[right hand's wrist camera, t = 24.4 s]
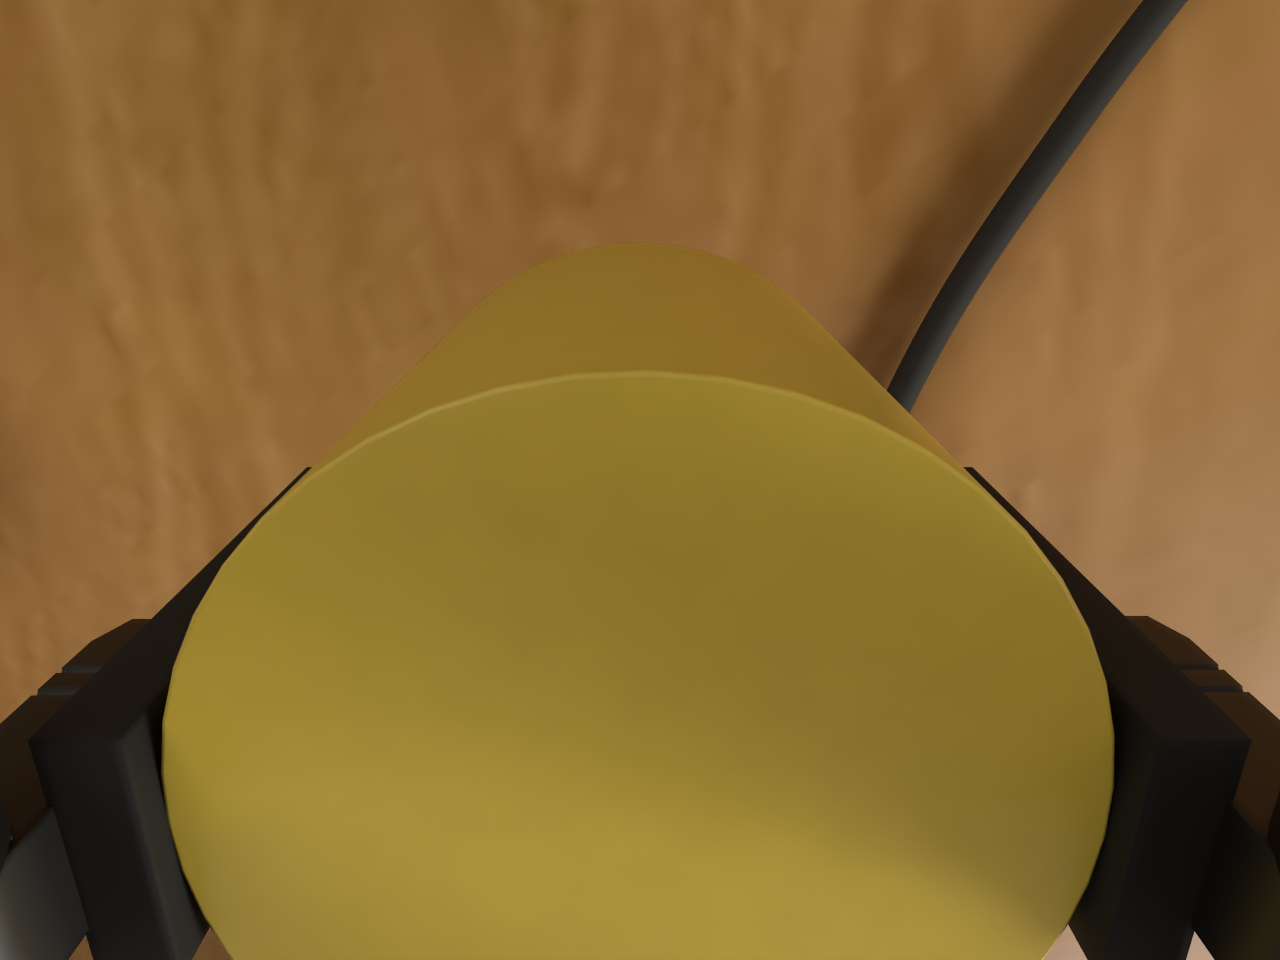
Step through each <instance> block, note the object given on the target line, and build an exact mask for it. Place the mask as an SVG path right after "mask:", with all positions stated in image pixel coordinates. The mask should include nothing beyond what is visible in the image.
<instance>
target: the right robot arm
mask: <svg viewBox="0 0 1280 960" xmlns="http://www.w3.org/2000/svg"><path fill="white" fill-rule="evenodd" d="M1187 1H1188V0H1143V1H1142V3H1141V4H1140V5H1139V6H1138V8H1137V9H1136V10H1135V12H1134V13H1133V14H1132V16H1131V17H1130V18H1129V19H1128V21H1127V22H1126V23H1125V25H1124V26H1123V27H1122V29H1121V30H1120V31H1119V32H1118V34H1117V35H1116V36H1115V38H1114V39H1113V40H1112V42H1111V43H1110V44H1109V46H1108V47H1107V48H1106V50H1105V51H1104V52H1103V54H1102V55H1101V56H1100V58H1099V59H1098V60H1097V62H1096V63H1095V65H1094V66H1093V67H1092V69H1091V70H1090V71H1089V73H1088V74H1087V76H1086V77H1085V78H1084V80H1083V81H1082V82H1081V84H1080V85H1079V87H1078V88H1077V90H1076V91H1075V92H1074V94H1073V95H1072V97H1071V98H1070V99H1069V101H1068V102H1067V104H1066V105H1065V107H1064V108H1063V109H1062V111H1061V112H1060V114H1059V115H1058V117H1057V118H1056V119H1055V121H1054V122H1053V124H1052V125H1051V127H1050V128H1049V129H1048V131H1047V132H1046V134H1045V135H1044V137H1043V138H1042V139H1041V141H1040V142H1039V144H1038V145H1037V147H1036V148H1035V149H1034V151H1033V152H1032V154H1031V155H1030V157H1029V158H1028V159H1027V161H1026V162H1025V164H1024V165H1023V167H1022V168H1021V169H1020V171H1019V172H1018V174H1017V175H1016V177H1015V178H1014V179H1013V181H1012V182H1011V184H1010V185H1009V187H1008V188H1007V189H1006V191H1005V192H1004V194H1003V195H1002V197H1001V198H1000V200H999V201H998V202H997V204H996V205H995V207H994V208H993V210H992V211H991V213H990V214H989V216H988V217H987V219H986V220H985V222H984V223H983V224H982V226H981V227H980V229H979V230H978V232H977V233H976V235H975V236H974V238H973V239H972V241H971V243H970V244H969V246H968V247H967V249H966V250H965V252H964V253H963V255H962V256H961V258H960V260H959V261H958V263H957V264H956V266H955V268H954V269H953V271H952V272H951V274H950V275H949V277H948V279H947V280H946V282H945V284H944V285H943V287H942V289H941V290H940V292H939V294H938V295H937V297H936V299H935V301H934V302H933V304H932V306H931V308H930V309H929V311H928V313H927V314H926V316H925V318H924V320H923V322H922V324H921V325H920V327H919V329H918V331H917V333H916V334H915V336H914V338H913V340H912V342H911V344H910V346H909V348H908V349H907V351H906V353H905V355H904V357H903V359H902V361H901V363H900V365H899V367H898V369H897V371H896V373H895V375H894V377H893V379H892V381H891V383H890V385H889V387H888V389H887V392H888V393H889V394H890V395H891V396H892V397H893V398H894V399H895V400H896V401H897V402H898V403H899V404H900V405H901V406H902V407H903V408H904V409H905V410H906V411H907V412H908V413H910V411H911V409H912V407H913V405H914V403H915V401H916V399H917V397H918V395H919V393H920V391H921V389H922V387H923V385H924V383H925V381H926V379H927V377H928V375H929V373H930V372H931V370H932V368H933V366H934V364H935V362H936V360H937V359H938V357H939V355H940V353H941V351H942V349H943V348H944V346H945V344H946V342H947V341H948V339H949V337H950V335H951V333H952V332H953V330H954V328H955V326H956V325H957V323H958V321H959V320H960V318H961V316H962V315H963V313H964V311H965V310H966V308H967V306H968V305H969V303H970V301H971V300H972V298H973V297H974V295H975V293H976V292H977V290H978V289H979V287H980V285H981V284H982V282H983V281H984V279H985V278H986V276H987V275H988V273H989V272H990V270H991V268H992V267H993V265H994V264H995V262H996V261H997V259H998V258H999V257H1000V255H1001V254H1002V252H1003V251H1004V249H1005V248H1006V246H1007V245H1008V243H1009V242H1010V240H1011V239H1012V237H1013V236H1014V235H1015V233H1016V232H1017V230H1018V229H1019V227H1020V226H1021V225H1022V223H1023V222H1024V220H1025V219H1026V217H1027V216H1028V215H1029V213H1030V212H1031V210H1032V209H1033V208H1034V206H1035V205H1036V203H1037V202H1038V201H1039V199H1040V198H1041V196H1042V195H1043V194H1044V192H1045V191H1046V189H1047V188H1048V187H1049V185H1050V184H1051V182H1052V181H1053V180H1054V178H1055V177H1056V175H1057V174H1058V173H1059V171H1060V170H1061V168H1062V167H1063V166H1064V164H1065V163H1066V161H1067V160H1068V159H1069V157H1070V156H1071V154H1072V153H1073V152H1074V150H1075V149H1076V147H1077V146H1078V145H1079V143H1080V142H1081V140H1082V139H1083V138H1084V136H1085V135H1086V133H1087V132H1088V131H1089V129H1090V128H1091V126H1092V125H1093V124H1094V122H1095V121H1096V119H1097V118H1098V117H1099V115H1100V114H1101V113H1102V111H1103V110H1104V108H1105V107H1106V106H1107V104H1108V103H1109V101H1110V100H1111V99H1112V97H1113V96H1114V95H1115V93H1116V92H1117V91H1118V89H1119V88H1120V87H1121V85H1122V84H1123V83H1124V81H1125V80H1126V79H1127V77H1128V76H1129V75H1130V73H1131V72H1132V71H1133V69H1134V68H1135V67H1136V65H1137V64H1138V63H1139V62H1140V60H1141V59H1142V58H1143V56H1144V55H1145V54H1146V52H1147V51H1148V50H1149V49H1150V47H1151V46H1152V45H1153V43H1154V42H1155V41H1156V40H1157V38H1158V37H1159V36H1160V35H1161V33H1162V32H1163V31H1164V29H1165V28H1166V27H1167V26H1168V24H1169V23H1170V22H1171V21H1172V19H1173V18H1174V17H1175V16H1176V14H1177V13H1178V12H1179V11H1180V9H1181V8H1182V7H1183V6H1184V4H1185V3H1186V2H1187ZM311 468H312V467H307V468H306V469H305V470H304V471H303V472H302V473H301V474H300V475H299V476H298V477H297V478H296V479H295V480H293V481H292V482H291V483H290V484H289V485H288V486H287V487H286V488H285V489H284V490H283V491H282V492H281V493H280V494H279V495H278V496H277V497H276V498H275V499H274V500H273V501H272V502H271V503H270V504H269V505H268V506H267V507H266V508H265V509H264V510H263V511H262V512H261V513H260V514H259V515H258V516H257V517H256V518H255V519H254V520H252V521H251V522H250V523H249V524H248V525H247V526H246V527H245V528H244V529H243V530H242V531H241V532H240V533H239V534H238V535H237V536H236V537H235V538H234V539H233V540H232V541H231V542H230V543H229V544H228V545H227V546H226V547H225V548H224V549H223V550H222V551H221V552H220V553H219V554H218V555H217V556H216V557H215V558H214V559H212V560H211V561H210V562H209V563H208V564H207V565H206V566H205V567H204V568H203V569H202V570H201V571H200V572H199V573H198V574H197V575H196V576H195V577H194V578H193V579H192V580H191V581H190V582H189V583H188V584H187V585H186V586H185V587H184V588H183V589H182V590H181V591H180V592H179V593H178V594H177V595H176V596H175V597H174V598H172V599H171V600H170V601H169V602H168V603H167V604H166V605H165V606H164V607H163V608H162V609H161V610H160V611H159V612H158V613H157V614H156V615H155V616H154V617H153V618H152V619H132V620H130V621H128V622H126V623H124V624H123V625H121V626H119V627H117V628H115V629H113V630H111V631H110V632H108V633H106V634H104V635H102V636H100V637H98V638H97V639H95V640H93V641H91V642H90V643H89V644H88V645H87V646H86V647H84V648H83V649H82V650H81V651H80V652H79V653H78V654H77V655H76V656H75V657H73V658H72V659H71V660H70V661H69V662H68V663H67V664H66V665H65V666H64V667H62V673H56V674H55V675H54V676H53V677H51V678H50V679H49V680H48V681H47V682H46V683H45V684H44V685H43V686H41V687H40V688H39V689H38V694H37V696H30V697H29V698H28V699H27V700H26V701H25V702H24V703H23V704H22V705H21V706H19V707H18V708H17V709H16V710H15V711H14V712H13V713H12V714H11V715H10V716H8V717H7V718H6V719H5V720H4V721H3V722H2V723H1V724H0V960H68V959H69V958H70V956H71V955H72V953H73V952H74V951H75V949H76V948H77V946H78V945H79V943H80V942H81V941H82V939H83V938H84V936H85V935H86V937H87V940H88V943H89V946H90V950H91V953H92V956H93V960H192V958H193V957H194V955H195V953H196V951H197V949H198V947H199V946H200V944H201V942H202V940H203V938H204V936H205V935H206V933H207V931H208V929H209V927H210V925H209V924H208V922H207V921H206V919H205V918H204V916H203V914H202V912H201V910H200V908H199V906H198V904H197V901H196V899H195V897H194V895H193V893H192V891H191V889H190V887H189V884H188V882H187V880H186V878H185V876H184V874H183V872H182V869H181V865H180V862H179V859H178V855H177V852H176V849H175V845H174V842H173V839H172V835H171V831H170V828H169V824H168V819H167V813H166V806H165V799H164V791H163V784H162V776H161V760H162V726H163V716H164V711H165V706H166V701H167V696H168V691H169V686H170V681H171V676H172V671H173V666H174V664H175V661H176V659H177V656H178V653H179V651H180V648H181V645H182V643H183V640H184V638H185V635H186V632H187V630H188V627H189V624H190V622H191V619H192V617H193V614H194V613H195V611H196V609H197V607H198V606H199V604H200V602H201V601H202V599H203V597H204V595H205V594H206V592H207V590H208V589H209V587H210V585H211V583H212V582H213V580H214V578H215V577H216V575H217V573H218V571H219V570H220V568H221V566H222V565H223V563H224V562H225V561H226V560H227V559H228V557H229V556H230V555H231V554H232V553H233V551H234V550H235V549H236V548H237V546H238V545H239V544H240V543H241V542H242V540H243V539H244V538H245V537H246V536H247V534H248V533H249V532H250V531H251V529H252V528H253V527H254V526H255V525H256V523H257V522H258V521H259V520H260V519H261V517H262V516H263V515H264V514H265V513H266V512H267V511H268V510H269V509H270V508H271V507H272V506H274V505H275V504H276V503H277V502H278V501H279V500H280V499H281V498H282V497H283V496H284V495H285V494H286V493H287V492H288V491H289V490H290V489H291V488H292V487H293V486H294V485H295V484H296V483H297V482H298V481H299V480H300V479H301V478H302V477H303V476H304V475H305V474H306V473H307V472H308V471H309V470H310V469H311ZM963 468H964V469H965V470H966V471H967V472H968V473H969V474H970V475H971V476H972V477H973V478H974V479H975V480H976V481H977V482H978V483H979V484H980V485H981V486H982V487H983V488H984V489H985V490H986V491H987V492H988V493H989V494H990V495H991V496H992V497H993V498H994V499H995V500H996V501H997V502H998V503H999V504H1000V505H1001V506H1002V507H1003V508H1004V509H1005V510H1006V511H1007V512H1008V513H1009V514H1010V515H1011V516H1012V517H1013V518H1014V519H1015V520H1016V521H1017V522H1018V523H1019V524H1020V525H1021V526H1022V527H1023V528H1024V529H1025V530H1026V531H1027V532H1028V534H1029V535H1030V536H1031V538H1032V539H1033V540H1034V542H1035V543H1036V544H1037V546H1038V547H1039V548H1040V550H1041V551H1042V552H1043V553H1044V555H1045V556H1046V557H1047V559H1048V560H1049V561H1050V563H1051V564H1052V565H1053V567H1054V568H1055V569H1056V571H1057V572H1058V573H1059V575H1060V576H1061V577H1062V579H1063V581H1064V583H1065V584H1066V586H1067V588H1068V590H1069V592H1070V594H1071V596H1072V598H1073V600H1074V602H1075V604H1076V605H1077V607H1078V609H1079V611H1080V613H1081V615H1082V617H1083V619H1084V621H1085V623H1086V624H1087V626H1088V628H1089V631H1090V634H1091V637H1092V640H1093V643H1094V646H1095V649H1096V652H1097V655H1098V658H1099V661H1100V664H1101V667H1102V670H1103V673H1104V676H1105V679H1106V683H1107V690H1108V696H1109V703H1110V709H1111V716H1112V723H1113V729H1114V736H1115V737H1114V789H1113V794H1112V800H1111V805H1110V811H1109V817H1108V822H1107V828H1106V833H1105V838H1104V841H1103V844H1102V847H1101V849H1100V852H1099V855H1098V858H1097V861H1096V864H1095V867H1094V870H1093V873H1092V876H1091V878H1090V881H1089V884H1088V886H1087V888H1086V890H1085V892H1084V894H1083V896H1082V898H1081V899H1080V901H1079V903H1078V905H1077V907H1076V909H1075V911H1074V913H1073V915H1072V917H1071V919H1070V921H1069V923H1068V925H1069V927H1070V928H1071V930H1072V932H1073V934H1074V936H1075V938H1076V939H1077V941H1078V943H1079V945H1080V947H1081V949H1082V950H1083V952H1084V954H1085V956H1086V958H1087V959H1088V960H1186V957H1187V954H1188V951H1189V947H1190V944H1191V941H1192V937H1193V934H1194V931H1195V932H1196V934H1197V935H1198V937H1199V938H1200V939H1201V941H1202V942H1203V944H1204V945H1205V947H1206V948H1207V949H1208V951H1209V952H1210V954H1211V955H1212V957H1213V958H1214V959H1215V960H1280V720H1279V719H1278V718H1277V717H1276V716H1275V715H1274V714H1272V713H1271V712H1270V711H1269V710H1268V709H1267V708H1266V707H1265V706H1264V705H1262V704H1261V703H1260V702H1259V701H1258V700H1257V699H1256V698H1255V697H1254V696H1252V695H1251V694H1250V693H1249V692H1243V690H1242V686H1241V685H1240V684H1239V683H1238V682H1237V681H1236V680H1235V679H1234V678H1232V677H1231V676H1230V675H1229V674H1228V673H1227V672H1226V671H1225V670H1219V669H1218V664H1217V663H1216V662H1215V661H1214V660H1213V659H1211V658H1210V657H1209V656H1208V655H1207V654H1206V653H1205V652H1204V651H1203V650H1201V649H1200V648H1199V647H1198V646H1197V645H1196V644H1195V643H1194V642H1193V641H1191V640H1190V639H1189V638H1187V637H1186V636H1184V635H1182V634H1180V633H1178V632H1176V631H1174V630H1173V629H1171V628H1169V627H1167V626H1165V625H1163V624H1161V623H1159V622H1158V621H1156V620H1154V619H1152V618H1150V617H1148V616H1124V615H1123V614H1122V613H1121V612H1120V611H1119V610H1118V609H1117V608H1116V607H1115V606H1114V605H1113V604H1112V603H1111V602H1110V601H1109V600H1108V599H1107V598H1106V597H1105V596H1104V595H1103V594H1102V593H1101V592H1100V591H1099V590H1098V589H1097V588H1096V587H1095V586H1094V585H1093V584H1091V583H1090V582H1089V581H1088V580H1087V579H1086V578H1085V577H1084V576H1083V575H1082V574H1081V573H1080V572H1079V571H1078V570H1077V569H1076V568H1075V567H1074V566H1073V565H1072V564H1071V563H1070V562H1069V561H1068V560H1067V559H1066V558H1065V557H1064V556H1063V555H1062V554H1061V553H1060V552H1059V551H1058V550H1057V549H1056V548H1055V547H1054V546H1053V545H1052V544H1050V543H1049V542H1048V541H1047V540H1046V539H1045V538H1044V537H1043V536H1042V535H1041V534H1040V533H1039V532H1038V531H1037V530H1036V529H1035V528H1034V527H1033V526H1032V525H1031V524H1030V523H1029V522H1028V521H1027V520H1026V519H1025V518H1024V517H1023V516H1022V515H1021V514H1020V513H1019V512H1018V511H1017V510H1016V509H1015V508H1014V507H1013V506H1012V505H1011V504H1009V503H1008V502H1007V501H1006V500H1005V499H1004V498H1003V497H1002V496H1001V495H1000V494H999V493H998V492H997V491H996V490H995V489H994V488H993V487H992V486H991V485H990V484H989V483H988V482H987V481H986V480H985V479H984V478H983V477H982V476H981V475H980V474H979V473H978V472H977V471H976V470H975V469H974V468H973V467H963Z"/></svg>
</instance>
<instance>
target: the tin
mask: <svg viewBox="0 0 1280 960" xmlns="http://www.w3.org/2000/svg"><path fill="white" fill-rule="evenodd" d="M1114 737H1115V736H1114V729H1113V723H1112V716H1111V709H1110V703H1109V696H1108V690H1107V683H1106V679H1105V676H1104V673H1103V670H1102V667H1101V664H1100V661H1099V658H1098V655H1097V652H1096V649H1095V646H1094V643H1093V640H1092V637H1091V634H1090V631H1089V628H1088V626H1087V624H1086V623H1085V621H1084V619H1083V617H1082V615H1081V613H1080V611H1079V609H1078V607H1077V605H1076V604H1075V602H1074V600H1073V598H1072V596H1071V594H1070V592H1069V590H1068V588H1067V586H1066V584H1065V583H1064V581H1063V579H1062V577H1061V576H1060V575H1059V573H1058V572H1057V571H1056V569H1055V568H1054V567H1053V565H1052V564H1051V563H1050V561H1049V560H1048V559H1047V557H1046V556H1045V555H1044V553H1043V552H1042V551H1041V550H1040V548H1039V547H1038V546H1037V544H1036V543H1035V542H1034V540H1033V539H1032V538H1031V536H1030V535H1029V534H1028V532H1027V531H1026V530H1025V529H1024V528H1023V527H1022V526H1021V525H1020V524H1019V523H1018V522H1017V521H1016V520H1015V519H1014V518H1013V517H1012V516H1011V515H1010V514H1009V513H1008V512H1007V511H1006V510H1005V509H1004V508H1003V507H1002V506H1001V505H1000V504H999V503H998V502H997V501H996V500H995V499H994V498H993V497H992V496H991V495H990V494H989V493H988V492H987V491H986V490H985V489H984V488H983V487H982V486H981V485H980V484H979V483H978V482H977V481H976V480H975V479H974V478H973V477H972V476H971V475H970V474H969V473H968V472H967V471H966V470H965V469H964V468H963V467H962V466H961V465H960V464H959V463H958V462H957V461H956V460H955V459H954V458H953V457H952V456H951V455H950V454H949V453H948V452H947V451H946V450H945V449H944V448H943V447H942V446H941V445H940V444H939V443H938V442H937V441H936V440H935V439H934V438H933V437H932V436H931V435H930V434H929V433H928V432H927V431H926V430H925V429H924V428H923V427H922V426H921V425H920V424H919V423H918V422H917V421H916V420H915V419H914V418H913V417H912V416H911V415H910V414H909V413H908V412H907V411H906V410H905V409H904V408H903V407H902V406H901V405H900V404H899V403H898V402H897V401H896V400H895V399H894V398H893V397H892V396H891V395H890V394H889V393H888V392H887V391H886V390H885V389H884V388H883V387H882V386H881V385H880V384H879V383H878V382H877V381H876V380H875V379H874V378H873V377H872V376H871V375H870V374H869V373H868V372H867V371H866V370H865V369H864V368H863V367H862V366H861V365H860V364H859V363H858V362H857V361H856V360H855V359H854V358H853V357H852V356H851V355H850V354H849V353H848V352H847V351H846V350H845V349H844V348H843V347H842V346H841V345H840V344H839V343H838V342H837V341H836V340H835V339H834V338H833V337H832V336H831V335H830V334H829V333H828V332H827V331H826V330H825V329H824V328H823V327H822V326H821V325H820V324H819V323H818V322H817V321H816V320H815V319H814V318H813V317H812V316H811V315H810V314H809V313H808V312H807V311H806V310H805V309H804V308H803V307H802V306H801V305H800V304H799V303H798V302H797V301H796V300H795V299H794V298H792V297H791V296H790V295H788V294H787V293H786V292H784V291H783V290H781V289H780V288H779V287H777V286H776V285H775V284H773V283H772V282H771V281H769V280H768V279H766V278H764V277H762V276H760V275H759V274H757V273H755V272H753V271H751V270H749V269H747V268H746V267H744V266H742V265H740V264H738V263H735V262H732V261H730V260H727V259H724V258H721V257H719V256H716V255H713V254H711V253H708V252H703V251H699V250H694V249H690V248H686V247H681V246H677V245H665V244H654V243H625V244H609V245H603V246H598V247H593V248H587V249H582V250H577V251H574V252H571V253H568V254H565V255H562V256H559V257H556V258H553V259H550V260H547V261H545V262H543V263H541V264H539V265H537V266H535V267H533V268H530V269H528V270H526V271H524V272H522V273H520V274H518V275H517V276H515V277H514V278H512V279H511V280H509V281H508V282H506V283H505V284H503V285H502V286H500V287H499V288H497V289H496V290H494V291H493V292H491V293H490V294H489V295H488V296H487V297H486V298H485V299H484V300H482V301H481V302H480V303H479V304H478V305H477V306H476V307H475V308H474V309H472V310H471V311H470V312H469V313H468V314H467V315H466V316H465V317H464V318H463V319H462V320H461V321H460V322H459V323H458V324H457V325H456V326H455V327H454V328H453V329H452V330H451V331H450V332H449V333H448V334H447V335H446V336H445V337H444V338H443V339H442V340H441V341H440V342H439V343H438V344H437V345H436V346H435V347H434V348H433V349H431V350H430V351H429V352H428V353H427V354H426V355H425V356H424V357H423V358H422V359H421V360H420V361H419V362H418V363H417V364H416V365H415V366H414V367H413V368H412V369H411V370H410V371H409V372H408V373H407V374H406V375H405V376H404V377H403V378H402V379H401V380H400V381H399V382H398V383H397V384H396V385H395V386H394V387H393V388H392V389H391V390H390V391H389V392H388V393H387V394H386V395H385V396H384V397H383V398H382V399H381V400H380V401H379V402H378V403H377V404H376V405H375V406H374V407H373V408H372V409H371V410H370V411H369V412H368V413H367V414H366V415H365V416H364V417H363V418H362V419H361V420H360V421H359V422H358V423H357V424H356V425H355V426H354V427H353V428H351V429H350V430H349V431H348V432H347V433H346V434H345V435H344V436H343V437H342V438H341V439H340V440H339V441H338V442H337V443H336V444H335V445H334V446H333V447H332V448H331V449H330V450H329V451H328V452H327V453H326V454H325V455H324V456H323V457H322V458H321V459H320V460H319V461H318V462H317V463H316V464H315V465H314V466H313V467H312V468H311V469H310V470H309V471H308V472H307V473H306V474H305V475H304V476H303V477H302V478H301V479H300V480H299V481H298V482H297V483H296V484H295V485H294V486H293V487H292V488H291V489H290V490H289V491H288V492H287V493H286V494H285V495H284V496H283V497H282V498H281V499H280V500H279V501H278V502H277V503H276V504H275V505H274V506H272V507H271V508H270V509H269V510H268V511H267V512H266V513H265V514H264V515H263V516H262V517H261V519H260V520H259V521H258V522H257V523H256V525H255V526H254V527H253V528H252V529H251V531H250V532H249V533H248V534H247V536H246V537H245V538H244V539H243V540H242V542H241V543H240V544H239V545H238V546H237V548H236V549H235V550H234V551H233V553H232V554H231V555H230V556H229V557H228V559H227V560H226V561H225V562H224V563H223V565H222V566H221V568H220V570H219V571H218V573H217V575H216V577H215V578H214V580H213V582H212V583H211V585H210V587H209V589H208V590H207V592H206V594H205V595H204V597H203V599H202V601H201V602H200V604H199V606H198V607H197V609H196V611H195V613H194V614H193V617H192V619H191V622H190V624H189V627H188V630H187V632H186V635H185V638H184V640H183V643H182V645H181V648H180V651H179V653H178V656H177V659H176V661H175V664H174V666H173V671H172V676H171V681H170V686H169V691H168V696H167V701H166V706H165V711H164V716H163V726H162V760H161V776H162V784H163V791H164V799H165V806H166V813H167V819H168V824H169V828H170V831H171V835H172V839H173V842H174V845H175V849H176V852H177V855H178V859H179V862H180V865H181V869H182V872H183V874H184V876H185V878H186V880H187V882H188V884H189V887H190V889H191V891H192V893H193V895H194V897H195V899H196V901H197V904H198V906H199V908H200V910H201V912H202V914H203V916H204V918H205V919H206V921H207V922H208V924H209V925H210V927H211V928H212V930H213V931H214V933H215V934H216V936H217V937H218V939H219V941H220V942H221V944H222V945H223V947H224V948H225V950H226V951H227V953H228V954H229V956H230V957H231V958H232V960H1043V959H1044V958H1045V956H1046V955H1047V954H1048V952H1049V951H1050V949H1051V948H1052V946H1053V945H1054V944H1055V942H1056V941H1057V939H1058V938H1059V937H1060V935H1061V934H1062V932H1063V931H1064V930H1065V928H1066V926H1067V924H1068V923H1069V921H1070V919H1071V917H1072V915H1073V913H1074V911H1075V909H1076V907H1077V905H1078V903H1079V901H1080V899H1081V898H1082V896H1083V894H1084V892H1085V890H1086V888H1087V886H1088V884H1089V881H1090V878H1091V876H1092V873H1093V870H1094V867H1095V864H1096V861H1097V858H1098V855H1099V852H1100V849H1101V847H1102V844H1103V841H1104V838H1105V833H1106V828H1107V822H1108V817H1109V811H1110V805H1111V800H1112V794H1113V789H1114Z"/></svg>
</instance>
